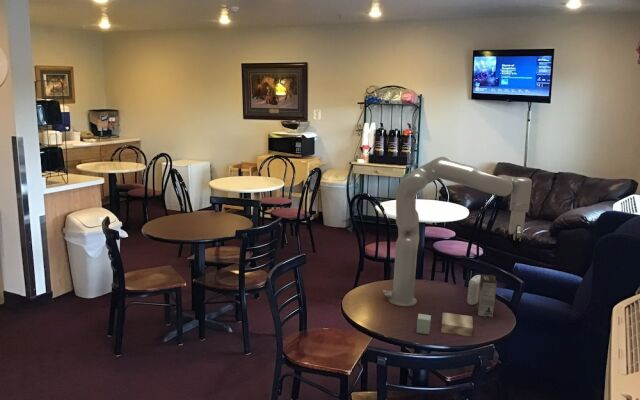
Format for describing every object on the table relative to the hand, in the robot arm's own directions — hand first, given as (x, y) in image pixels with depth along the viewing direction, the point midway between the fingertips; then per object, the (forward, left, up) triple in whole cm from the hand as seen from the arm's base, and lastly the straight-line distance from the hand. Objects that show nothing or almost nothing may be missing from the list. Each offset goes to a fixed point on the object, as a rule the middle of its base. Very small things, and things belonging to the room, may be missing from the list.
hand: (514, 246), depth 236 cm
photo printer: (-13, +12, -32) cm, 36 cm away
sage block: (-34, -28, -31) cm, 54 cm away
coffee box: (-9, 0, -32) cm, 33 cm away
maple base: (-21, -21, -32) cm, 43 cm away
